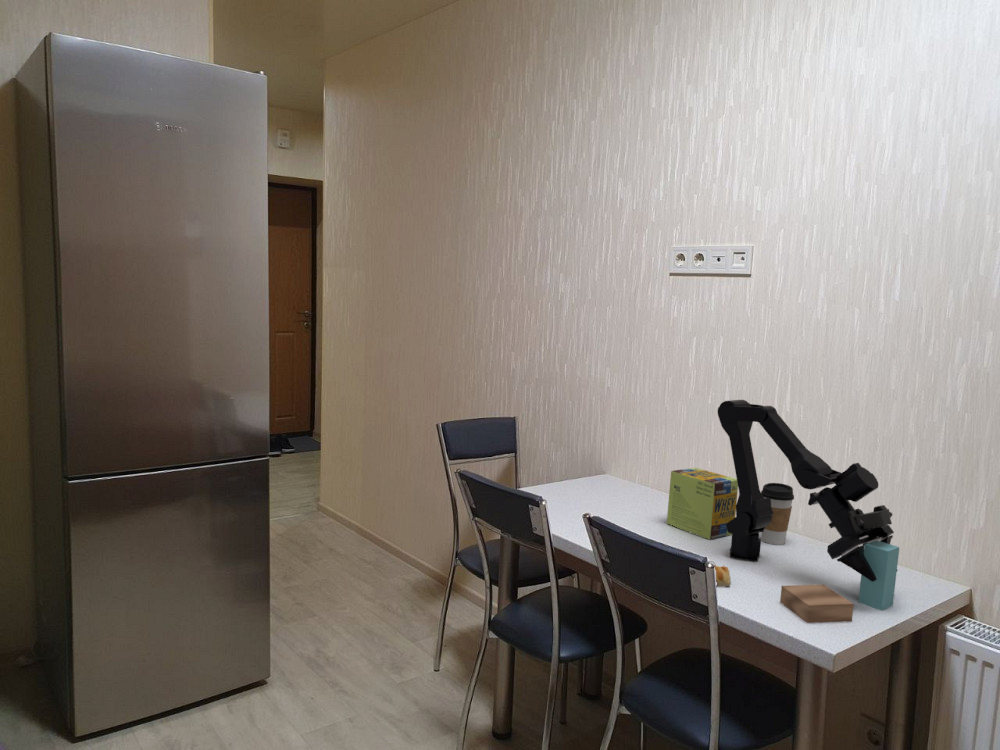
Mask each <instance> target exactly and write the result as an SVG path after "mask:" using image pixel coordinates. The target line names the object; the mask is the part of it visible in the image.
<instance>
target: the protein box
mask: <svg viewBox="0 0 1000 750" xmlns="http://www.w3.org/2000/svg"><path fill="white" fill-rule="evenodd" d="M669 481H670V482H669V492H668V493H669V494H668V502H667V503H668V505H667V515H666V516H667V517H666V525H668V524H670V525H669V526H671V525H673V526H675V527H674V528H676V527H677V529H679V528H680V529H679V530H681V529H683V530H682V531H684V530H686V531H685V532H687V531H689V532H691V533H690V534H692V533H694V534H693V535H695V534H697V535H699V536H698V537H700V536H702V537H701V538H703V537H704V538H703V539H705V538H707V539H706V540H708V539H709V541H712V540H715V539H720V538H724V537H729V536H732V533H729V532H728V531H727V526H726V524H727V523H728V522H729V521H731V520H732V519H734V518H735V517H736V505H737V501H738V492H739V488H738V483H737V478H735V477H731V476H727V475H723V474H720V473H717V472H713V471H708V470H705V469H701V468H697V467H691V468H684V469H677V470H676V469H675V470H671V471H670V480H669ZM673 526H672V527H673ZM689 532H688V533H689ZM697 535H696V536H697ZM728 535H729V536H728ZM711 539H712V540H711Z"/></svg>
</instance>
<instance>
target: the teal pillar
mask: <svg viewBox="0 0 1000 750" xmlns="http://www.w3.org/2000/svg"><path fill="white" fill-rule="evenodd" d="M899 554H900V546H897V545H893V544H891V543H890V544H887V543H884V542H880V541H877V540H875V541H872V542H869V543H866V544H865V546H864V556H865V558H866V560H867V561H868V563H869V565H870V567H871V569H872V570H873V572H874V574H875V576H876V578H877V580H875V581H874V582H872V581H870V580H869V579H867V578H866V577H864V576H863V575H861V574H860V584H859V591H858V594H859V595H858V601H857V602H858V603H859V604H861V605H862V604H863V605H865V606H868V607H870V608H874V609H876V610H879V611H884V610H886V609H888V608H891V607H892V605H894V599H895V589H896V583H897V582H896V581H897V572H898V562H899ZM890 606H891V607H890Z"/></svg>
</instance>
